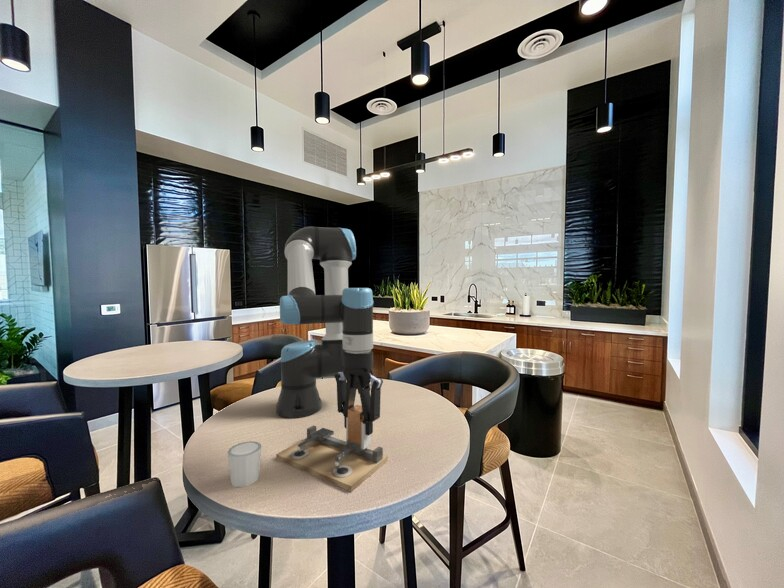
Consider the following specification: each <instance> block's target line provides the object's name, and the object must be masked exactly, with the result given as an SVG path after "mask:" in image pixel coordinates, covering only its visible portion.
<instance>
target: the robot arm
mask: <svg viewBox="0 0 784 588" xmlns="http://www.w3.org/2000/svg"><path fill="white" fill-rule="evenodd" d="M356 245H357V244H356V239H355V236H354V233H353V231H352V230H351V229H348V228H344V227H343V228H342V227H328V226H327V227H322V226H321V227H320V226H305V227H302V228H299V229H297V230H296V231H294V232H293V233H292V234H291V235H290V236H289V237H288V239H287V240H286V242H285V244H284V257H285V259H286V260H287V295H282V296H280V299H279V320H280V323H282V324H283V325H296V326H297V325H298V326H299V325H309V324H312V325H313V324H325V334H324V336H323V337H322V338H321V344H317V342H316V341H315V340H312V339H310V340H300V341H295V342H292V343H291V342H290V343H289V344H287V345H284V346H283V347H282V349H281V351H280V360H279V362H280V365H281V366H280V368H281V369H280V376H281V377H280V382H281V383H280V384H281V385H280V388H281V389H280V392H279V396H278V399H277V403H276V405H275V413H276V415H278V416H279V417H282V418H287V419H288V418H290V419H291V418H293V419H296V418H297V419H298V418H303V417H309V416H311V415H315V414H317V413H318V412H320V411H321V409H322V399H321V397H320V394H319V390H318V387H317V379H322V378H323V379H324V378H332V377H333V378H334V379H335V382H336V399H337V400H336V401H337V412H338V413H341V414H342V416H343V418H344V420H343V421H344V428H345V429H346V430H345V433H346V436H345V437H346V440H345V441H346V444H347V440H348V409H350V408H352V407H354V406H355V401H356V396H357V394H358V395H359V397H360V398H359V399H360V406H362V411H363V417H364V420H363V421H362V422H361V449H365V448H367V449H368V446H369V447H370V446H371V443H372V441H371V440H372V438H371V437H372V435H371V434H373V432H374V427H373V426H374V423H373V422H375V421H376V420H378V419H380V417H381V395H382V394H381V389H382V385H383V383H384V380H383V379H382V378H377V377H376V376H374V372H373V366H374V351H373V350H372V349H374V332H373V331H374V323H373V322H374V302H375V301H374V299H373V298H374V296H373V290H372V289H371V288H369V287H349V268H350V266H352V264H353V262H352V261H354V260H356V258H357V246H356ZM313 260H319V265H320V266H321V267H322V268H323V271H324V272H323V273H324V294H320V295H318V294H317V295H316V287H315V279H314V270H313V262H312V261H313Z"/></svg>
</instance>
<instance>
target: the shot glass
mask: <svg viewBox="0 0 784 588" xmlns="http://www.w3.org/2000/svg"><path fill="white" fill-rule="evenodd" d="M261 453H262V444H261V443H260V442H258V441H254V440H253V441H252V440H250V441H243V442H239V443H237V444H235V445H233V446H231V447H230V448H228V450H227V458H228V459H227V461H228V468H229V475H230V476H229V477H230V483H231V485H232V486H233V487H235V488H242V487H243V488H244V487H248V486H250V485H251V486H252V484H255V483H256V482H257V481H258V479H259V477H260V467H261V466H260V465H261V455H262V454H261Z"/></svg>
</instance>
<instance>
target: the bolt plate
mask: <svg viewBox="0 0 784 588" xmlns="http://www.w3.org/2000/svg"><path fill="white" fill-rule="evenodd" d="M316 431H318V430H317V426H316V425H311V426H310V427H309V426H308V428H306V437H305V438H304V439H302V440H300V441H298V442H296V443H294V444H293V445H290V446H289V447H287V448H285V449H284V450H283V449H282V451H279V452H278V453H276V455H275V457H276V460H277V461H280V462H282V463H285V464H287V465H289V466H291V467H293V468H295V469H298V470H300V471H302V472H305V473H308V474H310V475H312V476H314V477H317V478H319V479H321V480H323V481H325V482H328V483H330V484H332V485H335V486H337V487H339V488H341V489H344V490H346V491H348V492H351V493H352V492H353V491H355V490H356V489H357V488H358V487H359V486H360V485H362V483H363V482H365V481H366V480H367V479H368V478H369V477H370V476H372V475H373V474H374V473H375V472H376V471H378V470H379V469H380V468H381V467H382V466H383V465H385V464H386V463H387V462H388V461H389V456H388V455H387V454H385V453H384V452H383V450H384V449H383V447H381V446H377V447H376V448H375V449H373V450H372V449H369V448H368V447H367V448H366V449H364V450H363V451H362V452H360V453H359V452H356V451H355V452H353V453H352V454H351V455H349V456H348V457H346V458H345V459H343V460H342V461H341V462H339V469H335V457H336V456H338V455H339V454H341V453H342V452H343V451H345V450H346V449H347V444H346V440H342V439H339V438H336V437H333V436H332V435H331V436H330V437H328V438H326V439H324V440H323V441H321V440H316V441H315V442H313V443H311V444H309V445H307V446H306V447H304V448H302V449H301V453H300V454H298V444H300V443H302V442H303V441H305V440H307V439H309V438H311V434H312V433H314V432H316Z"/></svg>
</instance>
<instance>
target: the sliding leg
mask: <svg viewBox="0 0 784 588" xmlns="http://www.w3.org/2000/svg"><path fill="white" fill-rule="evenodd" d="M363 420H364V417H363V411H362V405H361V404H360V405H359V404H355V405H354V407H352V408H350V409H348V440H347V449H346V450H345V451H343V452H342V453H341V454H339V455H338V456H336V457H335V469H339V462H341V461H342V460H343V459H345V458H346V457H348V456H349V455H351V454H352V453H353V452H355V451H356V452H359V453H360V452H362V451H363V450H364V449H361V422H362V421H363ZM368 447H370V446H368ZM368 447H367V448H368ZM365 449H366V448H365Z"/></svg>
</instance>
